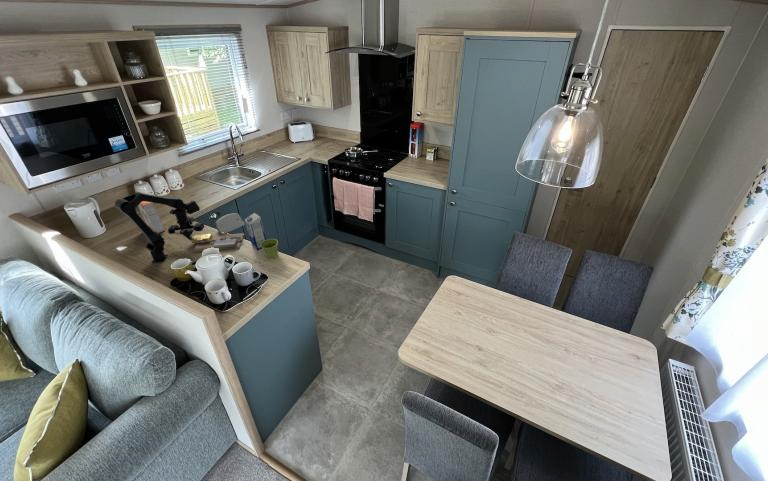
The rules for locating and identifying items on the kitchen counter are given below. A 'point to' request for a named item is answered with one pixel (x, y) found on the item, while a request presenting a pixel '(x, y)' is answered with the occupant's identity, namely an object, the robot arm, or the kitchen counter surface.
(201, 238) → the brass leaf
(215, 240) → the hinge bed
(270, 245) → the plant pot
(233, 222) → the grey rounded flat block
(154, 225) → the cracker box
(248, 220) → the milk carton
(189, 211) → the robot arm
